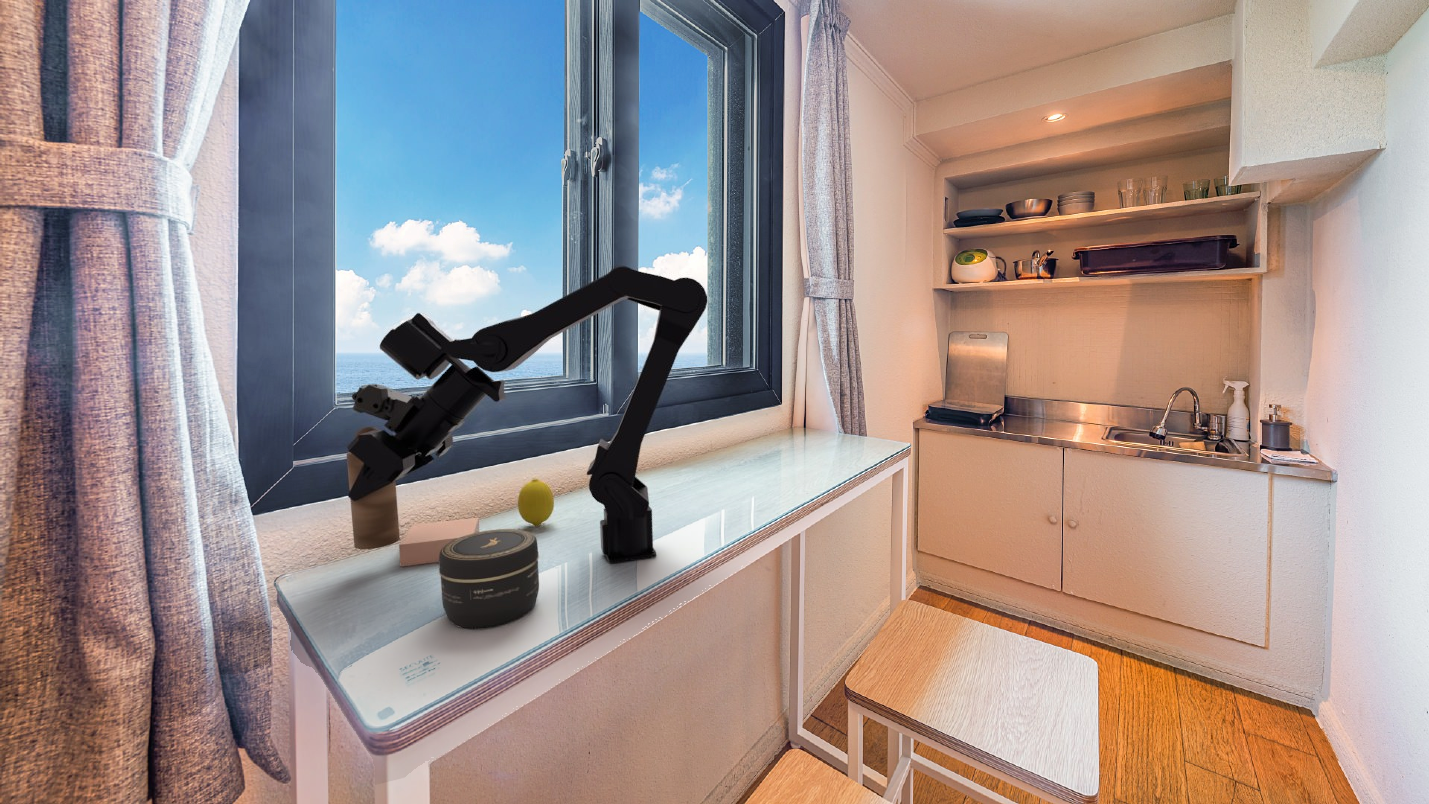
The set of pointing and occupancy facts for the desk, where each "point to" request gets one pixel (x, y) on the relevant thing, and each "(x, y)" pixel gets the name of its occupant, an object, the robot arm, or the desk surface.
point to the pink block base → (433, 539)
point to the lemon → (535, 502)
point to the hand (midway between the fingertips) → (362, 493)
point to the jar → (489, 577)
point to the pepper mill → (373, 510)
